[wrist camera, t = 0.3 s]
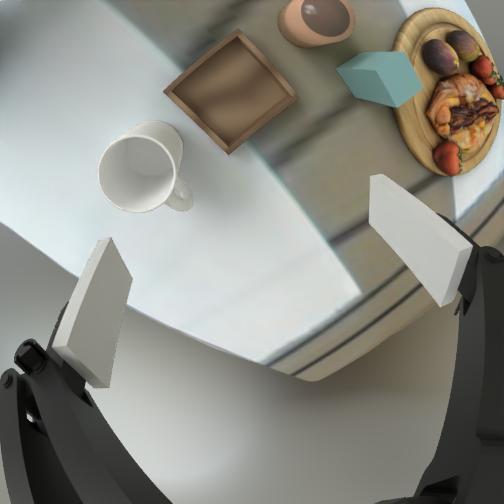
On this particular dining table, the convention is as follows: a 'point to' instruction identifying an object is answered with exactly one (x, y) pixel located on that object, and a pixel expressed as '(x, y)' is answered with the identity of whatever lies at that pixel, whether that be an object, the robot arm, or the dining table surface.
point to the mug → (144, 169)
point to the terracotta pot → (316, 22)
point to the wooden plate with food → (448, 92)
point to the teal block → (381, 77)
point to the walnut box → (231, 91)
